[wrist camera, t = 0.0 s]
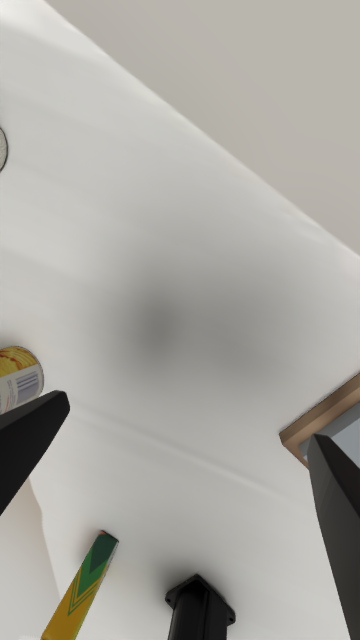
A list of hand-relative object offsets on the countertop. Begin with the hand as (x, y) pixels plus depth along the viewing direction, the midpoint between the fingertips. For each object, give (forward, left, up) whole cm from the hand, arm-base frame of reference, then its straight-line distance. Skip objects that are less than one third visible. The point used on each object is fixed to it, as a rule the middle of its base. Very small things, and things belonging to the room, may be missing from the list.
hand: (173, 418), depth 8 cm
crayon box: (-33, -10, -16) cm, 38 cm away
